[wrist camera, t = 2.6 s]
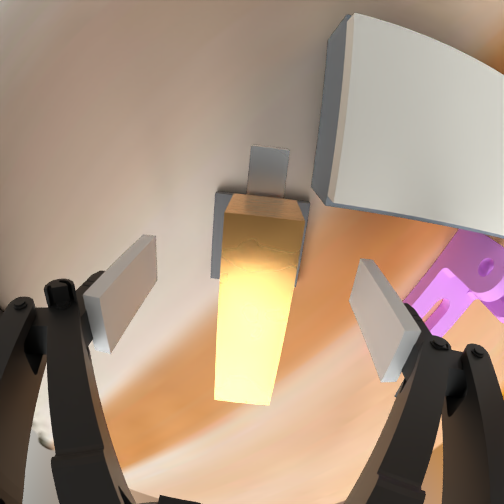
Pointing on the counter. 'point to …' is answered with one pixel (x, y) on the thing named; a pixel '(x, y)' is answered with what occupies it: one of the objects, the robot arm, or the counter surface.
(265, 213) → the key
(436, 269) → the bracket
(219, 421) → the counter surface
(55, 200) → the counter surface
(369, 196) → the cover
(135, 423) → the counter surface
